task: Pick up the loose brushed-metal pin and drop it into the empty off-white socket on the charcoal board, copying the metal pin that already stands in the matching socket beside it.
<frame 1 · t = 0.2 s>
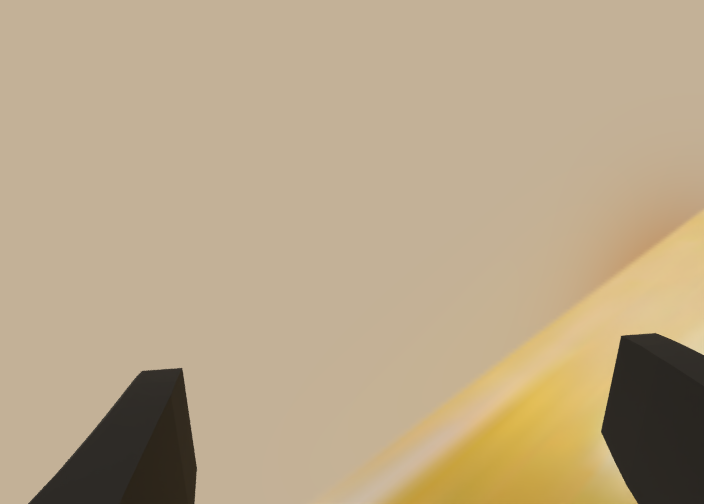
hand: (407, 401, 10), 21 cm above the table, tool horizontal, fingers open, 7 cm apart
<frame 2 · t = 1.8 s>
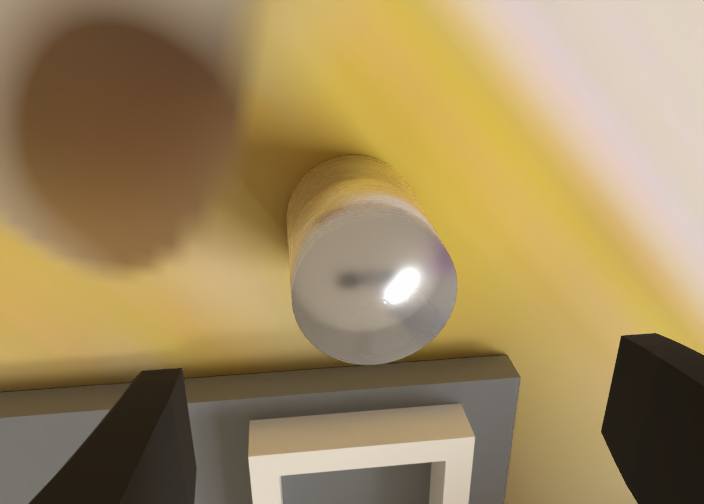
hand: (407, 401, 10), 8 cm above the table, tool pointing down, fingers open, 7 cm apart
pin: (351, 217, 18), on the table
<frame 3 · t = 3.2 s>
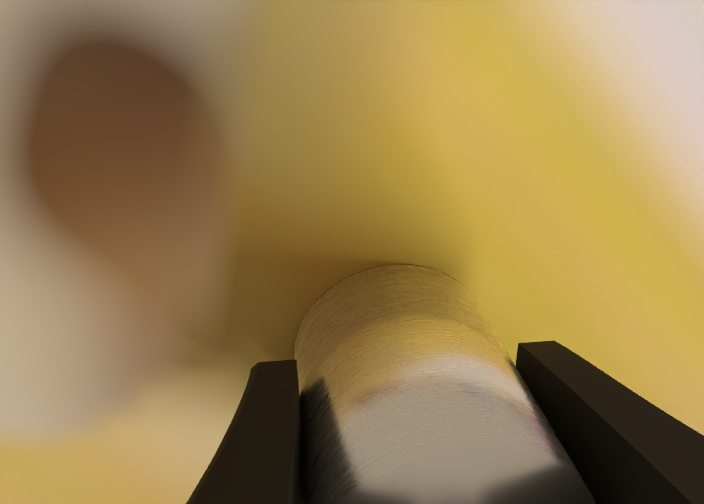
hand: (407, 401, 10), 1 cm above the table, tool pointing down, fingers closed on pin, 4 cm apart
pin: (391, 351, 12), on the table, touching gripper
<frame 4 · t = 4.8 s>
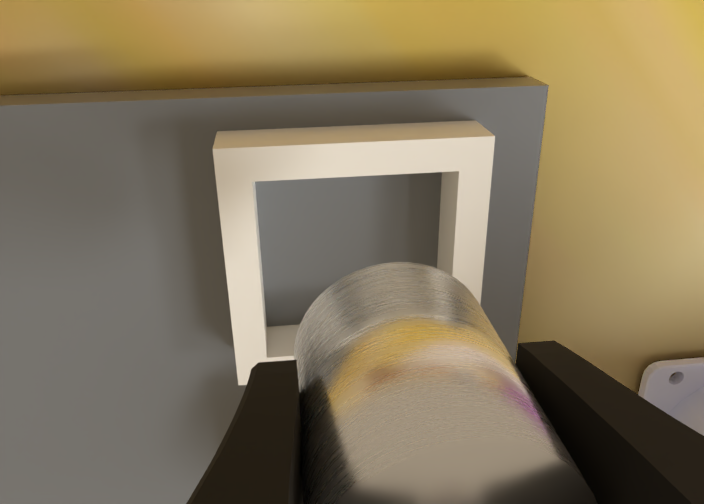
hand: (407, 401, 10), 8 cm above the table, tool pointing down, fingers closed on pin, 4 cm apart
pin: (391, 349, 12), point 7 cm above the table, touching gripper
layout board: (249, 338, 19), on the table
when the fingers open (4 cm above the table, at t = 6.4 s): pin stays where it is, resting on layout board.
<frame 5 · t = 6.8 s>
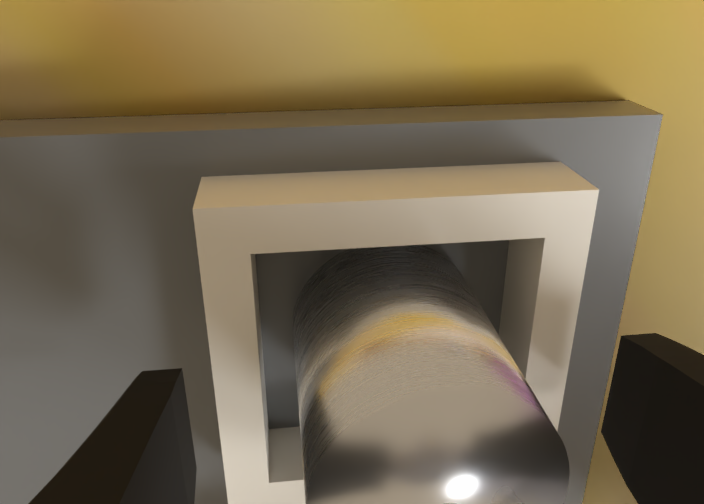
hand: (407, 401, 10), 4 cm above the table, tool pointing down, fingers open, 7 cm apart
pin: (383, 322, 13), point 1 cm above the table, touching layout board
layout board: (245, 433, 15), on the table
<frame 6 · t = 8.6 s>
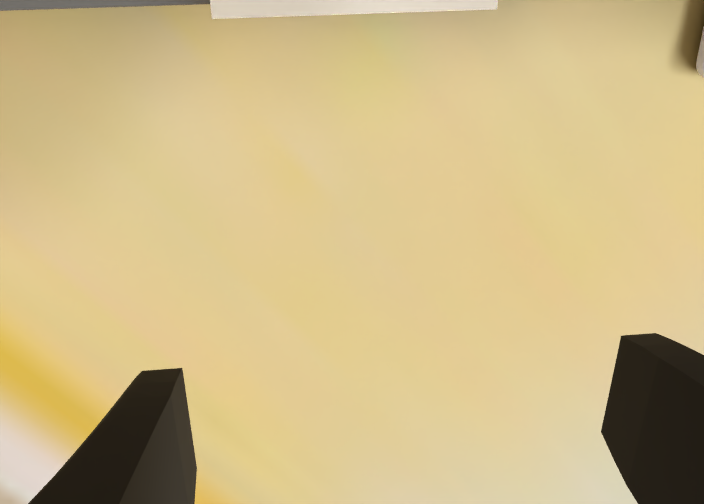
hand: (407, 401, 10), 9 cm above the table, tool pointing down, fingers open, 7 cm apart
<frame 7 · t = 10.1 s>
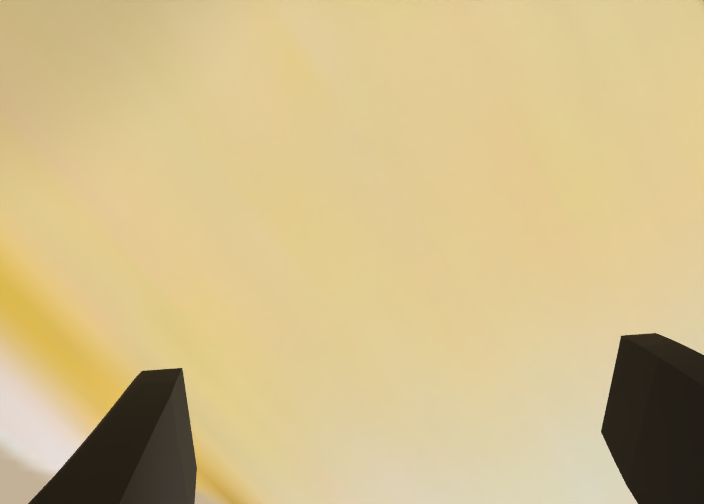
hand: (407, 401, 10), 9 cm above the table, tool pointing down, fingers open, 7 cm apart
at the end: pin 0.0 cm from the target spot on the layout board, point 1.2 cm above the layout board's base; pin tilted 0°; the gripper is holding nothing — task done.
